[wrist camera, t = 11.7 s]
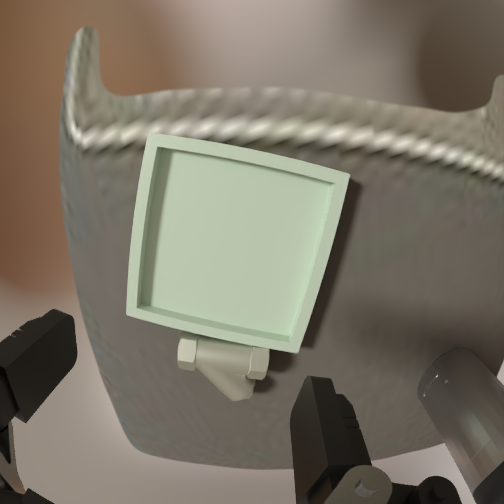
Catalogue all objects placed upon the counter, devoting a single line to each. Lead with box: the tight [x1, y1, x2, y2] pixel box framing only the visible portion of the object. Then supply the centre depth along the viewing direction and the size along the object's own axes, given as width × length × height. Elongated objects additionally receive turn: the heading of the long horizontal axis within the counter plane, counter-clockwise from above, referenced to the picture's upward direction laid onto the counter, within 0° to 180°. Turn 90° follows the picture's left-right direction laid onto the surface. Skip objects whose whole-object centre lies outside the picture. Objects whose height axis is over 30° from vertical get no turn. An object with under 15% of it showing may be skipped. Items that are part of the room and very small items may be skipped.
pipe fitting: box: [177, 330, 270, 401], centre depth 26 cm, size 8×4×7 cm
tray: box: [126, 133, 350, 353], centre depth 24 cm, size 16×16×2 cm
